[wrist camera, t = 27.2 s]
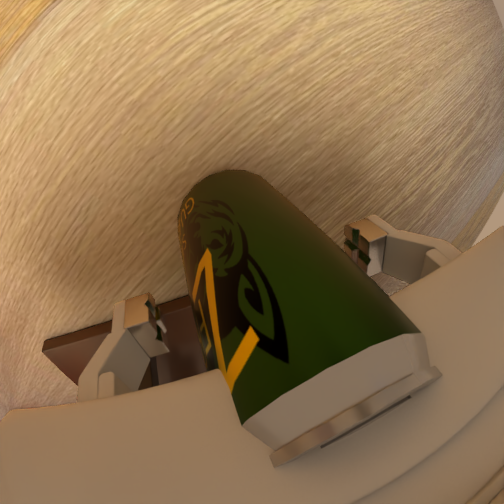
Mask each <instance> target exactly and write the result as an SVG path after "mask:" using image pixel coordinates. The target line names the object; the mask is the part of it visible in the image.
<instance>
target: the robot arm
mask: <svg viewBox="0 0 504 504" xmlns="http://www.w3.org/2000/svg"><path fill="white" fill-rule="evenodd" d="M344 235H345V236H346V237H347V238H346V240H345V242H344V251H345V253H346V254H347V255H348V256H349V257H350V258H351V259H352V260H353V261H354V262H355V263H356V264H357V265H358V266H359V267H360V268H361V269H362V270H363V271H364V272H365V273H366V274H367V275H368V276H369V277H370V276H372V275H375V274H377V273H379V272H383V273H385V274H388V275H390V276H393V277H395V278H397V279H400V280H402V281H404V282H407V283H409V284H411V285H409V286H407V287H405V288H403V289H402V290H400V291H398V292H396V293H394V294H392V295H391V296H389V297H390V299H391V300H392V301H393V302H394V303H395V304H396V305H397V306H398V307H399V308H400V309H401V310H402V311H403V313H404V314H405V315H406V316H407V317H408V318H409V319H410V320H411V321H412V322H413V324H414V325H415V326H416V327H417V328H418V329H419V330H420V331H421V332H422V334H423V335H424V336H425V339H426V345H427V350H428V356H429V362H430V367H432V366H436V367H437V368H438V370H439V371H440V372H441V373H442V376H441V377H440V378H439V379H437V380H436V381H435V382H433V383H432V384H430V385H427V386H425V387H423V388H421V389H419V390H417V391H415V392H414V393H412V394H410V396H411V397H412V398H411V399H409V400H408V401H406V402H405V403H403V404H402V405H400V406H399V407H397V408H396V409H394V410H392V411H391V412H389V413H388V414H386V415H384V416H383V417H381V418H379V419H378V420H376V421H374V422H373V423H371V424H369V425H367V426H366V427H364V428H362V429H360V430H358V431H356V432H355V433H353V434H351V435H349V436H347V437H345V438H343V439H341V440H339V441H337V442H335V443H333V444H330V445H328V446H326V447H324V448H322V449H321V447H320V446H319V447H318V448H316V449H314V450H312V451H311V452H309V453H307V454H305V455H303V456H302V457H300V458H298V459H296V460H294V461H292V462H289V463H287V464H284V465H281V466H278V467H276V468H274V467H273V464H272V462H271V459H270V457H269V455H271V454H272V453H274V452H276V451H274V450H273V449H271V448H270V447H269V446H267V445H266V444H264V443H263V442H262V441H260V440H259V439H258V438H256V437H255V436H254V435H252V434H251V433H250V432H248V431H247V430H246V429H244V428H243V427H242V426H241V423H240V420H239V417H238V414H237V411H236V408H235V405H234V402H233V399H232V396H231V392H230V389H229V386H228V384H227V382H226V380H225V378H224V376H223V374H222V372H221V371H220V370H219V369H214V370H211V371H208V372H205V373H201V374H198V375H195V376H191V377H188V378H184V379H181V380H177V381H174V382H170V383H166V384H163V385H159V386H155V387H151V388H147V389H143V390H138V388H139V386H140V383H141V381H142V378H143V376H144V374H145V371H146V369H147V366H148V364H149V362H150V358H152V357H156V356H159V355H162V354H165V353H168V352H170V351H169V343H168V338H167V336H166V335H165V333H166V331H167V327H166V322H165V319H164V316H163V314H162V312H161V310H160V308H159V307H157V306H155V299H154V298H153V296H152V294H151V293H145V294H142V295H139V296H136V297H133V298H129V299H127V300H123V301H120V302H117V303H115V305H114V310H113V320H112V331H111V333H110V334H108V335H107V337H106V338H105V339H104V341H103V342H102V344H101V345H100V347H99V348H98V350H97V351H96V353H95V354H94V356H93V357H92V359H91V360H90V362H89V363H88V365H87V366H86V368H85V369H84V371H83V372H82V374H81V375H80V377H79V381H78V393H77V403H71V404H64V405H56V406H48V407H39V408H29V409H15V410H11V411H9V412H8V413H7V414H6V415H5V417H4V418H3V419H2V420H1V422H0V504H504V226H502V227H500V228H498V229H497V230H496V231H494V232H493V233H491V234H490V235H489V236H487V237H486V238H484V239H483V240H482V241H480V242H479V243H477V244H476V245H474V246H473V247H471V248H470V249H468V250H467V251H465V252H464V253H462V252H461V251H459V250H458V249H457V248H455V247H454V246H453V245H452V244H450V243H449V242H447V241H446V240H442V239H438V238H434V237H430V236H425V235H421V234H417V233H413V232H408V231H404V230H399V231H398V230H396V229H395V228H394V227H392V226H391V225H389V224H388V223H387V222H385V221H384V220H382V219H381V218H380V217H378V216H377V215H371V216H368V217H366V218H364V219H361V220H359V221H356V222H353V223H350V224H347V225H345V227H344Z"/></svg>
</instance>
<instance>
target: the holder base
mask: <svg viewBox="0 0 504 504" xmlns="http://www.w3.org/2000/svg"><path fill="white" fill-rule="evenodd" d="M157 307H159V308H160V310H161V312H162V314H163V316H164V319H165V322H166V327H167V331H166V333H165V335H166V336H167V338H168V343H169V351H170V352H168V353H165V354H162V355H159V356H156V357H152V358H150V362H149V364H148V366H147V369H146V371H145V374H144V376H143V378H142V381H141V383H140V386H139V388H138V390H143V389H147V388H151V387H155V386H159V385H163V384H166V383H170V382H174V381H177V380H181V379H184V378H188V377H191V376H195V375H198V374H201V373H205V372H207V370H206V366H205V362H204V358H203V354H202V350H201V346H200V342H199V338H198V333H197V329H196V325H195V320H194V316H193V311H192V306H191V301H190V297H189V296H186V297H183V298H180V299H177V300H174V301H171V302H168V303H165V304H162V305H159V306H157ZM111 331H112V321H109V322H106V323H103V324H99V325H96V326H93V327H90V328H87V329H83V330H80V331H77V332H74V333H70V334H67V335H64V336H60V337H57V338H54V339H50V340H47V341H44V344H43V348H42V352H43V353H44V354H45V355H46V356H47V357H48V358H49V359H50V360H51V361H52V362H53V363H54V364H55V365H56V366H57V367H58V368H59V369H60V370H61V371H62V372H63V373H64V374H65V375H66V376H67V377H69V378H70V379H71V380H72V381H73V382H74V383H75V384H76V385H78V381H79V377H80V375H81V374H82V372H83V371H84V369H85V368H86V366H87V365H88V363H89V362H90V360H91V359H92V357H93V356H94V354H95V353H96V351H97V350H98V348H99V347H100V345H101V344H102V342H103V341H104V339H105V338H106V337H107V335H108V334H110V333H111Z"/></svg>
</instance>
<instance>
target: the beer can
mask: <svg viewBox="0 0 504 504" xmlns="http://www.w3.org/2000/svg"><path fill="white" fill-rule="evenodd" d="M178 237H179V243H180V249H181V255H182V260H183V266H184V271H185V276H186V282H187V287H188V292H189V297H190V301H191V306H192V311H193V316H194V320H195V325H196V329H197V333H198V338H199V342H200V346H201V350H202V354H203V358H204V362H205V366H206V370H207V372H208V371H211V370H214V369H219V370H220V371H221V372H222V374H223V376H224V378H225V380H226V382H227V384H228V386H229V389H230V392H231V396H232V399H233V402H234V405H235V408H236V411H237V414H238V417H239V420H240V423H241V426H242V427H243V428H244V429H246V430H247V431H248V432H250V433H251V434H252V435H254V436H255V437H256V438H258V439H259V440H260V441H262V442H263V443H264V444H266V445H267V446H269V447H270V448H271V449H273V450H274V451H276V452H274V453H272V454H271V455H269V457H270V459H271V462H272V464H273V467H274V468H276V467H278V466H281V465H284V464H287V463H289V462H292V461H294V460H296V459H298V458H300V457H302V456H303V455H305V454H307V453H309V452H311V451H312V450H314V449H316V448H318V447H319V446H320V447H321V449H322V448H324V447H326V446H328V445H330V444H333V443H335V442H337V441H339V440H341V439H343V438H345V437H347V436H349V435H351V434H353V433H355V432H356V431H358V430H360V429H362V428H364V427H366V426H367V425H369V424H371V423H373V422H374V421H376V420H378V419H379V418H381V417H383V416H384V415H386V414H388V413H389V412H391V411H392V410H394V409H396V408H397V407H399V406H400V405H402V404H403V403H405V402H406V401H408V400H409V399H411V398H412V397H411V396H410V394H412V393H414V392H415V391H417V390H419V389H421V388H423V387H425V386H427V385H430V384H432V383H433V382H435V381H436V380H437V379H439V378H440V377H441V376H442V373H441V372H440V371H439V370H438V368H437V367H436V366H432V367H430V362H429V356H428V350H427V345H426V339H425V336H424V335H423V334H422V332H421V331H420V330H419V329H418V328H417V327H416V326H415V325H414V324H413V322H412V321H411V320H410V319H409V318H408V317H407V316H406V315H405V314H404V313H403V311H402V310H401V309H400V308H399V307H398V306H397V305H396V304H395V303H394V302H393V301H392V300H391V299H390V297H389V296H388V295H387V294H386V293H385V292H384V291H383V290H382V289H381V288H380V287H379V286H378V285H377V284H376V283H375V282H374V281H373V280H372V279H371V278H370V277H369V276H368V275H367V274H366V273H365V272H364V271H363V270H362V269H361V268H360V267H359V266H358V265H357V264H356V263H355V262H354V261H353V260H352V259H351V258H350V257H349V256H348V255H347V254H346V253H345V252H344V251H343V250H342V249H341V248H340V247H339V246H338V245H337V244H336V243H335V242H334V241H333V240H332V239H331V238H329V237H328V236H327V235H326V234H325V233H324V232H323V231H322V230H321V229H320V228H319V227H318V226H317V225H316V224H314V223H313V222H312V221H311V220H310V219H309V218H308V217H307V216H306V215H305V214H304V213H302V212H301V211H300V210H299V209H298V208H297V207H296V206H295V205H293V204H292V203H291V202H290V201H289V200H288V199H287V198H286V197H284V196H283V195H282V194H281V193H280V192H279V191H278V190H276V189H275V188H274V187H273V186H272V185H271V184H269V183H268V182H267V181H266V180H265V179H263V178H262V177H261V176H259V175H257V174H254V173H251V172H248V171H245V170H225V171H222V172H219V173H216V174H213V175H209V176H208V177H206V178H205V179H204V180H202V181H201V182H199V183H198V184H196V185H195V186H194V187H193V188H192V189H191V191H190V192H189V193H188V195H187V196H186V197H185V199H184V200H183V202H182V205H181V208H180V211H179V214H178Z"/></svg>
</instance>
